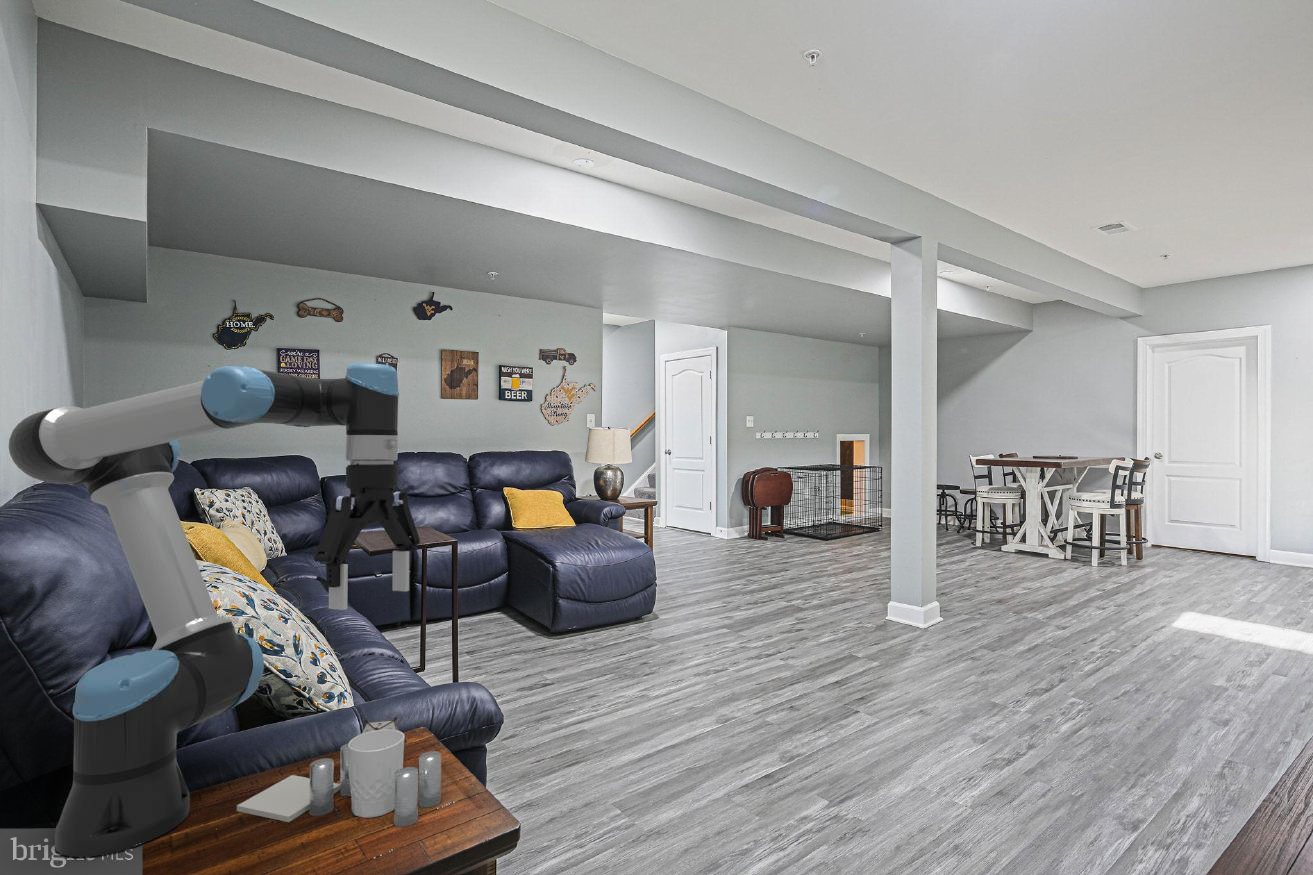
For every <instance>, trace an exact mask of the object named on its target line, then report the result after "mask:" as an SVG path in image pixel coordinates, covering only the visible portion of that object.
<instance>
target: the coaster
mask: <svg viewBox="0 0 1313 875" xmlns="http://www.w3.org/2000/svg"><path fill="white" fill-rule="evenodd" d="M338 792H340V783H337V782H334V784H333V795H335V794H337V793H338ZM309 803H310V777H305V776H300V775H295V774H291V775H290V776H288V777H286V778H284V779H283V780H280V781H279V782H277V783H275V784H273V785H271V786H269V787H268V788H266V789H265V790H263V791H261V792H259V793H257V794H255V795H253V796H252V797H250V798H248V799H246V800H244V801H243V802H240V803H238V804H237V805H236V812H239V813H243V814H248V815H253V816H258V817H263V818H266V819H267V818H268V819H272V820H277V821H281V822H285V823H290V822H291V821H293V820H295V819H297V818H298V817H299V816H301V815H302V814H304V813H305V812H308V811H309Z"/></svg>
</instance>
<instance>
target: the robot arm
mask: <svg viewBox="0 0 1313 875" xmlns="http://www.w3.org/2000/svg"><path fill="white" fill-rule="evenodd" d="M398 381H399V380H398V371H397V369H396V368H394V367H393V366H391V365H387V364H381V363H372V362H371V363H370V362H369V363H368V362H367V363H360V362H359V363H352V364H350V365H348V366H347V368H346V374H345V377H342V378H341V377H340V378H313V377H306V376H300V375H293V374H287V373H281V372H276V371H271V370H270V371H269V370H268V371H267V370H264V369H263V370H262V369H258V368H254V367H250V366H245V365H243V366H233V365H232V366H231V365H226V366H225V365H224V366H220V367H217V368H215V369H213V370H212V372H211V373H210V374H209V375H206V377H205V378H204V380H199V381H197V382H192V383H188V384H184V385H180V386H176V387H171V388H170V387H169V388H167V389H163V390H159V391H155V392H154V391H153V392H150V393H145V394H142V395H137V396H133V397H129V398H124V399H119V400H116V401H112V402H108V403H103V404H99V405H95V406H90V407H87V408H86V407H85V408H82V407H79V406H73V405H65V406H60V407H56V408H52V409H47V410H43V411H39V412H36V413H34V414H31V415H28V416H27V417H26V418H25V417H24V419H22V420H21V421H20V422H19V423H18V424H16V426H15V427H14V428H13V430H12V432H11V434H10V437H9V439H8V451H9V452H8V453H9V455H10V457H11V459H12V461H13V463H14V464H15V466H16V467H17V468H18V469H19V470H21V471H22V472H23V473H24V474H25V475H28V476H29V477H31V478H32V479H36V480H38V481H41V482H45V483H51V484H58V485H65V484H66V485H68V484H69V485H75V484H76V485H77V484H78V485H79V484H84V485H85V486H86V489H87V492H88V494H89V497H90V499H91V501H92V502H93V503H95V504H99V505H101V506H104V507H106V508H107V512H108V514H109V516H110V519H111V521H112V524H113V527H114V529H115V532H116V534H117V537H118V540H119V542H120V544H121V547H122V550H123V553H124V556H125V558H126V560H127V561H126V562H127V563H128V566H129V568H130V569H129V570H130V571H131V574H132V576H133V579H134V582H135V585H136V587H137V590H138V592H139V594H140V597H141V600H142V602H143V605H144V608H145V610H146V613H147V615H148V618H149V621H150V624H151V627H152V629H153V632H154V634H155V636H156V641H155V643H154V645H153V646H152V649H151V650H143V651H139V652H135V653H134V654H130V655H128V654H127V655H126V654H125V655H122V656H118V657H116V658H113V659H110V660H107V661H104V662H103V663H101V664H98V665H97V666H94V667H93V668H90V670H88V671H86V672H85V673H84V674H83V676H82V677H80V678H79V679H78V682H77V685H76V687H75V697H74V703H73V705H72V715H73V762H72V763H73V764H72V766H73V768H72V769H73V773H72V774H73V776H72V779H73V780H72V786H71V789H70V791H69V794H68V797H67V798H66V801H65V804H64V807H63V809H62V811H61V815H60V818H59V819H58V822H57V824H56V827H55V831H54V848H55V851H56V852H57V853H59V854H61V855H63V856H67V857H74V858H76V857H77V858H80V857H81V858H83V857H84V858H85V857H86V858H87V857H96V856H103V855H107V854H108V855H109V854H113V853H117V852H121V851H124V850H128V849H131V848H134V847H133V846H134V845H136V844H139V843H143V842H145V843H148V842H150V841H152V840H155V839H156V838H159V837H161V836H162V835H165V834H166V833H168V832H170V831H172V830H173V829H175V828H176V827H178V826H179V825H180V824H181V823H183V821H184V820H186V818H187V817H188V816H189V813H190V812H191V811H190V809H191V807H190V806H191V795H190V794H191V793H190V791H189V789H188V786H187V783H186V781H185V778H184V777H183V773H182V772H181V768H180V766H179V764H178V761H177V739H178V738H177V737H178V736H177V734H178V733H180V732H182V731H184V730H186V729H190V728H191V727H193V726H195V725H197V724H200V723H202V722H204V721H207V720H209V719H211V718H213V717H215V716H216V715H220V714H224V713H226V712H228V711H229V710H233V708H235V707H236V706H238V705H239V704H241V703H243V702H245V701H246V700H248V699H249V698H250V697H251V696H253V694H254V693H255V692H256V690H257V689H258V687H259V686H260V681H261V679H262V678H263V675H264V668H265V663H264V662H265V660H264V655H263V651H262V649H261V647H260V645H259V643H258V642H257V640H255V638H253V637H250V636H249V635H248V634H246V633H239V632H237V631H236V629H235V627H234V624H233V622H232V620H231V619H229V618H226V617H224V616H223V617H222V616H220V615H218V613H217V610H216V609H215V606H214V604H213V603H214V602H213V601H212V598H211V596H210V593H209V590H208V588H207V585H206V583H205V580H204V578H203V575H202V573H201V570H200V568H199V565H198V561H197V560H196V556H195V555H194V553H193V550H192V548H191V545H190V542H189V540H188V537H187V535H186V532H185V530H184V527H183V524H182V522H181V520H180V517H179V515H178V512H177V509H176V507H175V504H174V501H173V500H172V497H171V496H172V495H170V492H169V488H170V486H171V485H172V483H173V482H174V480H175V476H174V472H175V470H176V469H177V467H178V465H179V463H180V461H179V460H178V459H177V458H178V457H180V454H181V450H180V449H181V448H180V445H179V444H180V443H179V442H178V441H180V440H184V439H185V440H186V439H189V438H190V439H191V438H193V437H197V436H202V435H207V434H211V433H216V432H219V431H225V430H229V429H235V428H239V427H245V426H249V425H253V424H275V425H285V426H290V427H296V428H297V427H298V428H301V427H303V428H310V427H325V426H329V427H330V426H342V427H344V426H345V430H346V431H345V432H346V435H345V460H346V461H347V462H349V464H348V465H346V467H345V487H346V488H347V489H349V490H350V491H349V492H350V494H349V495H346V496H345V495H334V496H333V498H332V501H331V510H330V514H329V516H328V519H327V522H326V525H325V527H324V530H323V532H322V535H321V538H320V540H319V542H318V545H317V548H316V550H315V554H314V556H313V560H314V561H315V562H316V563H317V562H318V563H320V564H321V565H325V566H326V576H325V577H326V582H325V584H326V587H327V588H328V609H329V610H338V611H339V610H341V611H345V610H347V609H348V596H349V595H348V588H349V586H348V579H349V578H348V574H349V573H348V572H349V571H348V570H349V569H348V568H349V564H347V563H344V561H346V558H347V556H348V554H349V553H350V551H351V549H352V548H353V545H354V544H355V542H356V540H357V538H358V537H359V536H360V534H361V531H362V530H363V529H364V528H366V527H367V526H368V524H375V523H379V524H381V526H382V528H383V529H384V531H385V532H386V534H387V536H388V537H389V539H390V541H391V542H392V543H393V545H394V546H395V548H396V550H392V590H391V591H393V592H410V568H411V551H416V549H417V548H418V545H420V543H421V539H420V536H419V533H418V530H417V527H416V525H415V522H414V518H413V515H412V512H411V509H410V507H409V500H408V493H407V492H406V491H393V489H394V488H396V487H397V486H398V484H399V482H398V481H399V475H398V474H399V467H398V466H397V464H394V461H397V460H398V456H399V455H398V454H399V453H398V430H399V429H398V427H399V426H398V425H399V424H398V423H399V422H398V421H399V420H398V419H399V418H398V417H399V396H400V392H399V382H398ZM147 841H148V842H147ZM143 844H144V843H143Z"/></svg>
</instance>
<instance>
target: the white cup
mask: <svg viewBox="0 0 1313 875" xmlns="http://www.w3.org/2000/svg"><path fill="white" fill-rule="evenodd" d="M398 730H399V729H398ZM398 730H392V729H382V730H375V731H370V732H366V733H363V734H361V733H360V734H358V735H356V736H354V737H353V738H351V740H349V742H348V743H349V744H348V743H347V744H348V752H349V777H350V791H351V795H352V796H350V797H351V800H350V801H351V812H352V813H353V815H354V816H357V817H360V818H361V819H362V818H368V819H369V818H377V817H380V816H384V815H387V814H388V813H391V812H393V811H394V774H395V772H396V771H397V770H399V769H401V768H404V753H405V743H404V740H405V734H404V733H403V731H400V730H399V731H398Z"/></svg>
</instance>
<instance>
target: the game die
mask: <svg viewBox="0 0 1313 875" xmlns="http://www.w3.org/2000/svg"><path fill="white" fill-rule="evenodd" d="M397 720H398V715H396V716H394V717H393V719H392V720H381V721H370V722H369V720H368V719H367V718H364V723H365V726H364V728H363V729H362V732H361V733H360V734H363V733H366V732H370V731H375V730H382V729H392V730H398V731H400V730H399V728H398V725H397V723H396V721H397ZM407 742H408V740H407V739H405V738H404V744H406V743H407Z"/></svg>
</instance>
